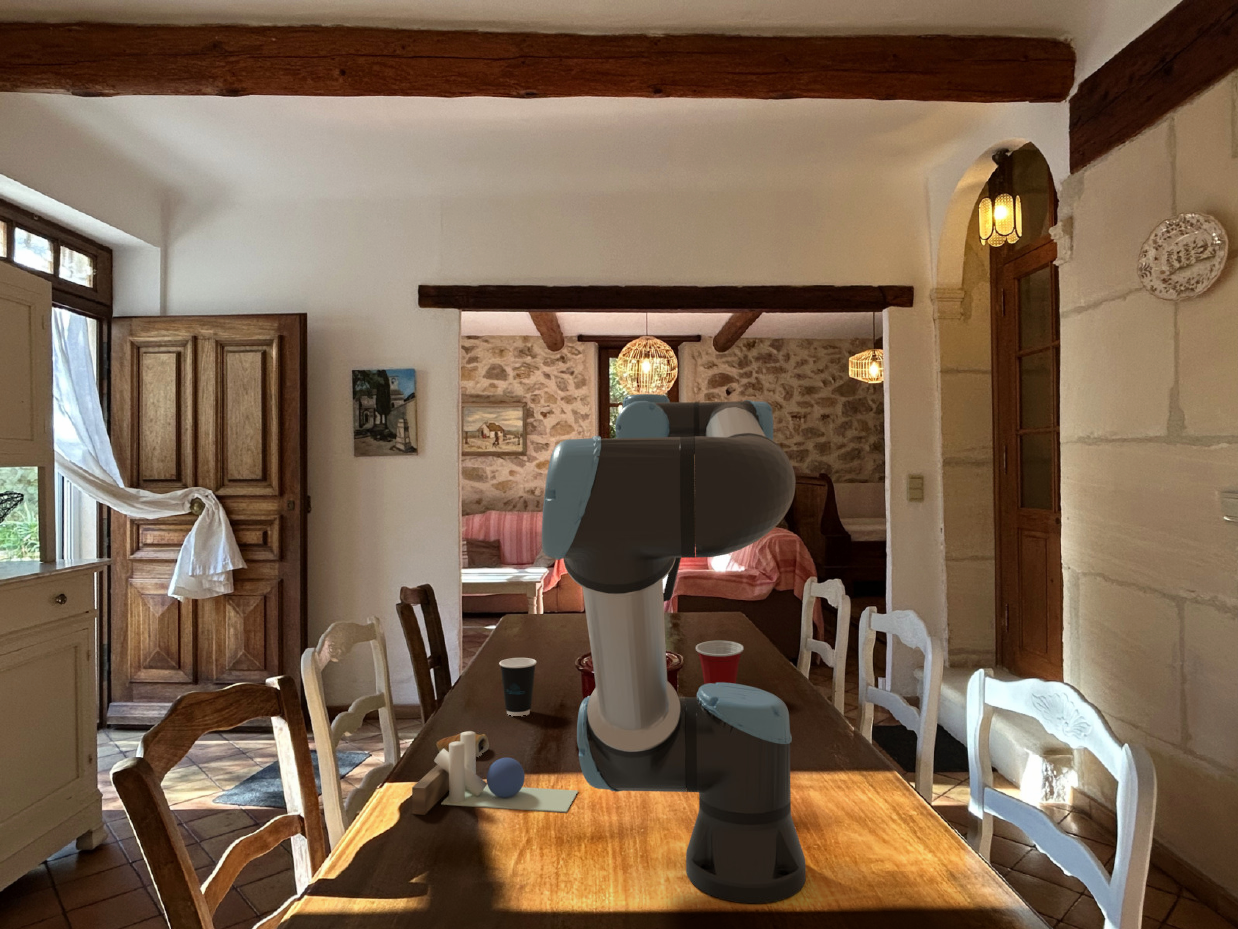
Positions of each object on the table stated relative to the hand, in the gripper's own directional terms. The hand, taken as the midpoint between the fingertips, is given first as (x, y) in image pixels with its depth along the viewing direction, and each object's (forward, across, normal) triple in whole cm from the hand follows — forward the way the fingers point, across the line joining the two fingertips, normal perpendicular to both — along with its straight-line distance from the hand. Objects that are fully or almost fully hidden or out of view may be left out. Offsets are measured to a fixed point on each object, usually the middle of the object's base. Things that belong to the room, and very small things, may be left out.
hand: (648, 645), depth 126 cm
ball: (+21, +23, +1) cm, 31 cm away
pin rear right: (+24, +30, +4) cm, 39 cm away
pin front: (+23, +27, +2) cm, 36 cm away
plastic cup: (+25, -8, -59) cm, 64 cm away
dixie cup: (+25, +34, -42) cm, 59 cm away
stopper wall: (+24, +34, +2) cm, 42 cm away
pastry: (+25, +37, -17) cm, 48 cm away
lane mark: (+24, +22, +2) cm, 33 cm away
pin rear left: (+24, +30, -1) cm, 39 cm away
